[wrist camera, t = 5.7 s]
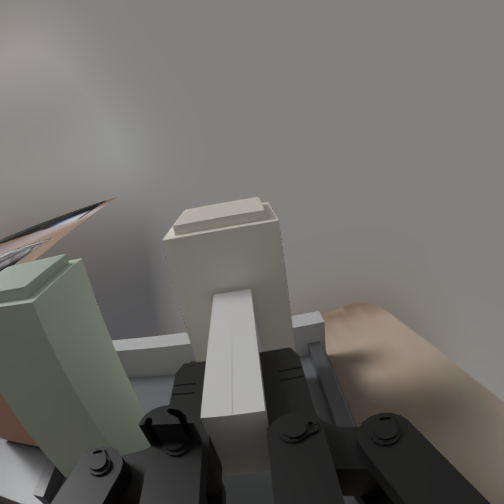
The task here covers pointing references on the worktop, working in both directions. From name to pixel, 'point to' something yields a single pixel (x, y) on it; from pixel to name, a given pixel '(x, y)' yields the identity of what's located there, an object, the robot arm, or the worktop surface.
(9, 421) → the brown tall rectangular block
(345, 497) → the grey slotted tray
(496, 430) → the worktop surface
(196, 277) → the cream tall rectangular block
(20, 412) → the sage green tall block
